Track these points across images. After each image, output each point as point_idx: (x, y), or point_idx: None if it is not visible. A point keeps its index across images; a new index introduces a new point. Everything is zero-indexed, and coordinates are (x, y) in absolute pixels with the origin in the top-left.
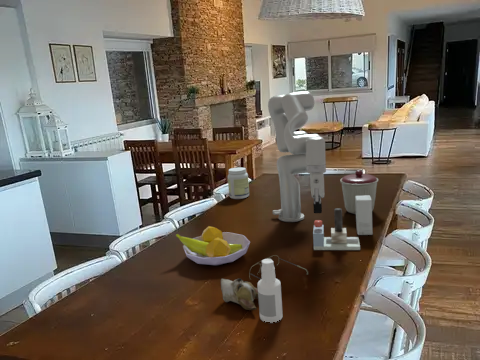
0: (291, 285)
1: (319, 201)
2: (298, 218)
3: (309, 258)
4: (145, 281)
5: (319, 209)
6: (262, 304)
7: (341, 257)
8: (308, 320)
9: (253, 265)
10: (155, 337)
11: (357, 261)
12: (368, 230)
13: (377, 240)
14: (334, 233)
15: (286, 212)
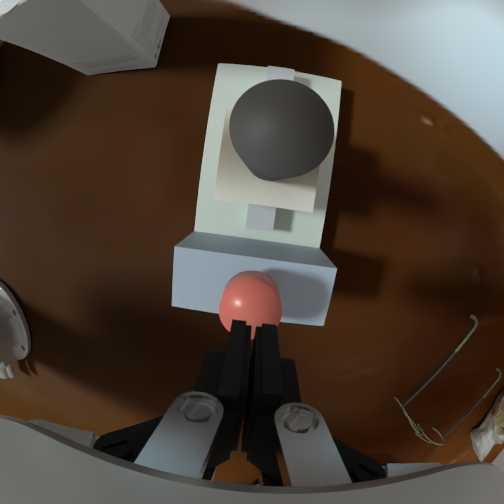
0: (492, 348)
1: (325, 450)
2: (9, 304)
3: (383, 309)
4: None
5: (294, 370)
6: None
7: (400, 183)
8: None
9: (439, 444)
10: (489, 455)
11: (435, 135)
12: (160, 19)
13: (233, 6)
14: (315, 191)
15: (6, 352)
